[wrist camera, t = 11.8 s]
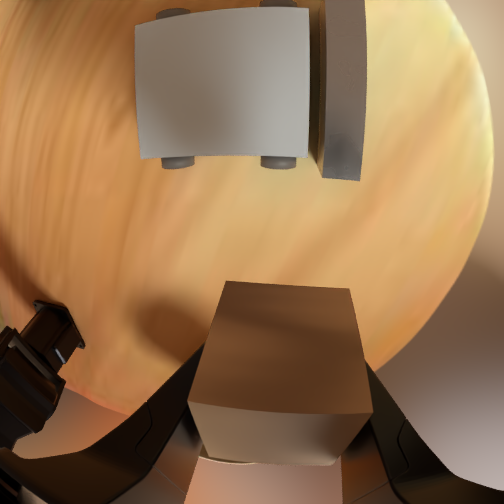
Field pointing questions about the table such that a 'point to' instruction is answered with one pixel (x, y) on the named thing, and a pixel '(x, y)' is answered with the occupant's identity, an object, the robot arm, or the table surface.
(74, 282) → the table surface
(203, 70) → the cart
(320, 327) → the block
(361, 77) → the buffer
